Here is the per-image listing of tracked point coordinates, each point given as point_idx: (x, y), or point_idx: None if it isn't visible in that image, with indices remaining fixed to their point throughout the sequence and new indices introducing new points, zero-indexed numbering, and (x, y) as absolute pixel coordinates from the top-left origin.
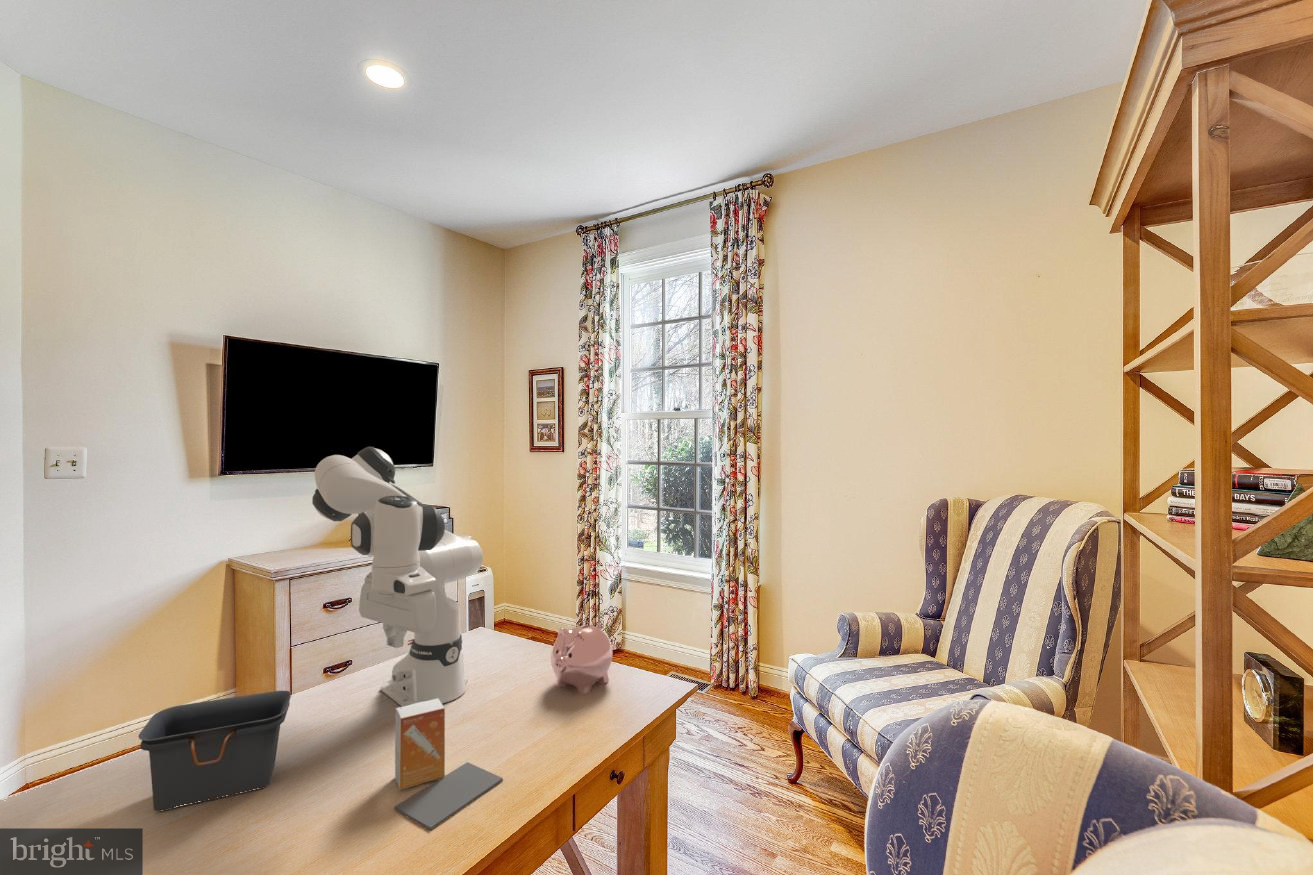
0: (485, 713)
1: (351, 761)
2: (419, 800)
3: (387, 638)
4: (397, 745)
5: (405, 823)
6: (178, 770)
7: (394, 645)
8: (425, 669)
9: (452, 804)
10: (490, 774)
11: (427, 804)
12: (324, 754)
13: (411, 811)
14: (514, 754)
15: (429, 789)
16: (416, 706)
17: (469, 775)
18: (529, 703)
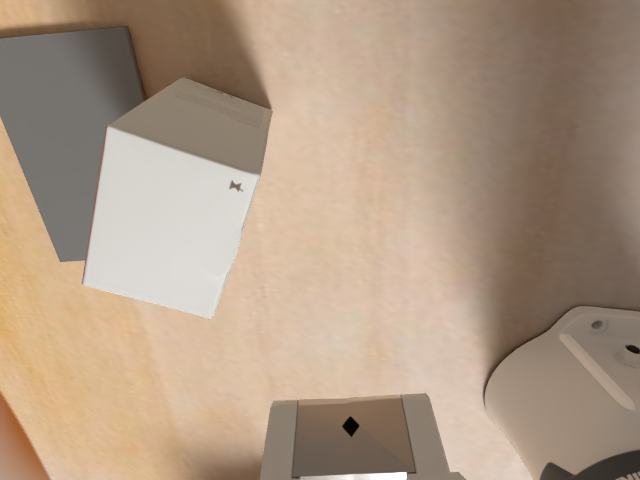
0: (359, 392)
1: (456, 70)
2: (104, 87)
3: (431, 458)
4: (207, 114)
5: (46, 13)
6: None
7: (287, 415)
8: (595, 425)
9: (32, 131)
10: None
11: (72, 90)
12: (574, 33)
13: (69, 45)
14: (145, 330)
15: None
16: (189, 230)
17: None
18: None
